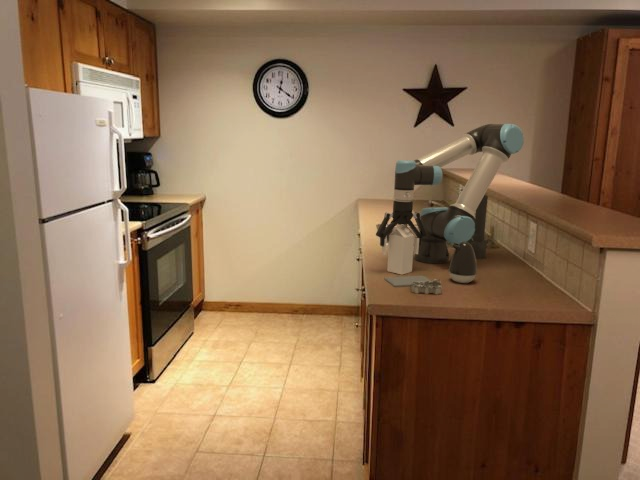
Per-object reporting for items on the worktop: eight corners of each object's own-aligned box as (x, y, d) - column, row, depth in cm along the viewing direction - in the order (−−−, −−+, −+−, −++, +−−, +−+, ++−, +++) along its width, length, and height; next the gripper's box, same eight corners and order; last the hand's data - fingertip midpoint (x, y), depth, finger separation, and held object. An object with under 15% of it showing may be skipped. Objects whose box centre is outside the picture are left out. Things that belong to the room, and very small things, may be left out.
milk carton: (387, 271, 213) (389, 224, 209) (397, 268, 218) (399, 222, 214) (402, 275, 208) (404, 227, 204) (412, 271, 213) (414, 225, 209)
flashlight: (481, 255, 245) (466, 255, 244) (486, 194, 239) (471, 194, 238) (488, 258, 238) (472, 258, 237) (493, 196, 232) (478, 196, 231)
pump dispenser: (442, 279, 204) (444, 240, 200) (464, 276, 208) (467, 238, 204) (458, 286, 194) (462, 245, 191) (481, 283, 198) (485, 243, 195)
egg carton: (440, 289, 191) (441, 278, 190) (441, 296, 183) (442, 284, 183) (410, 287, 193) (411, 276, 192) (410, 293, 185) (411, 282, 184)
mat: (423, 277, 206) (423, 275, 206) (435, 284, 196) (435, 283, 196) (384, 279, 202) (384, 277, 202) (394, 287, 192) (394, 285, 192)
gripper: (376, 201, 200) (373, 256, 204) (437, 201, 206) (433, 255, 211) (369, 199, 207) (366, 252, 212) (428, 199, 214) (424, 251, 218)
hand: (399, 254), depth 211 cm, fingers open, 13 cm apart
